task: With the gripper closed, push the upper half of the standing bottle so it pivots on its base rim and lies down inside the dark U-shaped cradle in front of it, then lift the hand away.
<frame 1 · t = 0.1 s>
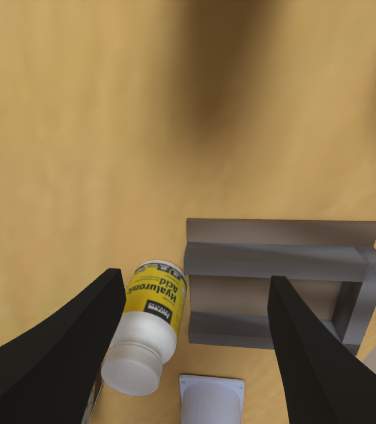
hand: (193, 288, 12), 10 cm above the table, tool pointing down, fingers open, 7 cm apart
bottle rest: (269, 284, 25), on the table
food container: (80, 356, 34), on the table
supplement bottle: (161, 277, 26), on the table
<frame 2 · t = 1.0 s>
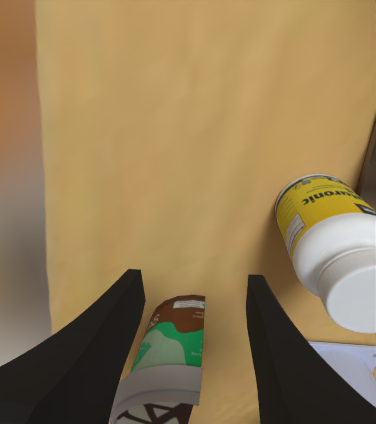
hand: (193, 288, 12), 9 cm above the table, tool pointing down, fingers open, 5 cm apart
food container: (169, 320, 28), on the table
supplement bottle: (309, 204, 20), on the table
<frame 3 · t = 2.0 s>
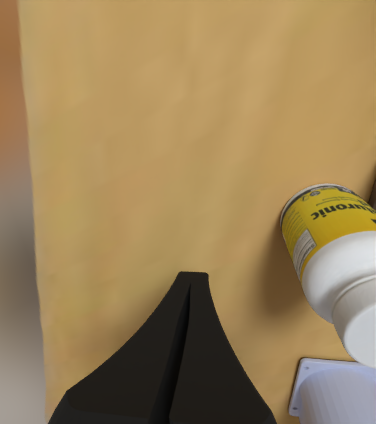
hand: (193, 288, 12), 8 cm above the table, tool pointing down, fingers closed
supplement bottle: (317, 215, 18), on the table
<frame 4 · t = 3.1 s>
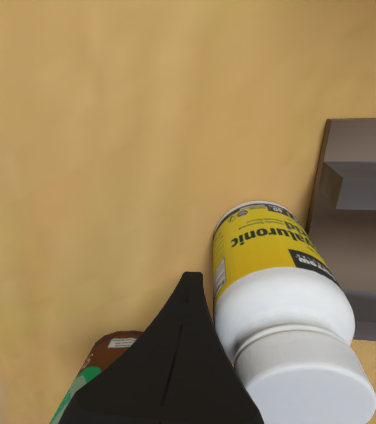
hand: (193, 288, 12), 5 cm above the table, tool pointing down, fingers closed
food container: (112, 356, 25), on the table
supplement bottle: (254, 234, 17), on the table, touching gripper
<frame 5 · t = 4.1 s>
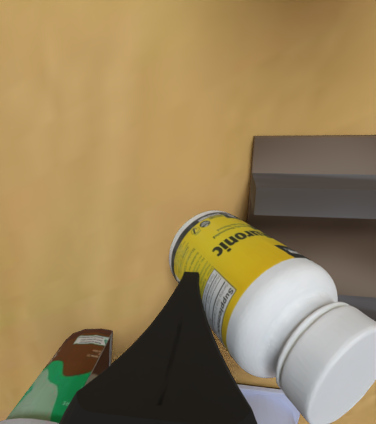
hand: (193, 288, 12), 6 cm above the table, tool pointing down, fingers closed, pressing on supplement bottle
bottle rest: (364, 247, 17), on the table
food container: (82, 354, 26), on the table
supplement bottle: (203, 246, 17), point 1 cm above the table, touching bottle rest, gripper
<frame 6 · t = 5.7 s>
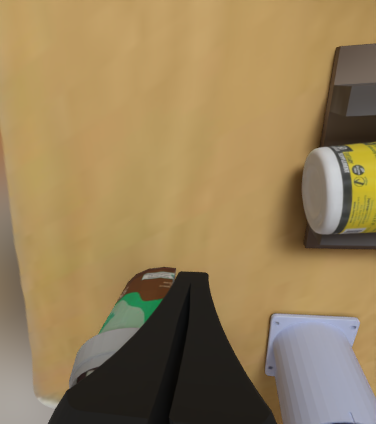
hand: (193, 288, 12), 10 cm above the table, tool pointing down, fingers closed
food container: (142, 296, 27), on the table
supplement bottle: (308, 192, 16), point 3 cm above the table, touching bottle rest
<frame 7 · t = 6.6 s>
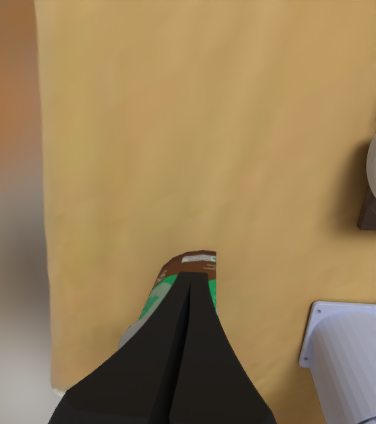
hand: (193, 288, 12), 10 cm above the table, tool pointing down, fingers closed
food container: (176, 282, 26), on the table
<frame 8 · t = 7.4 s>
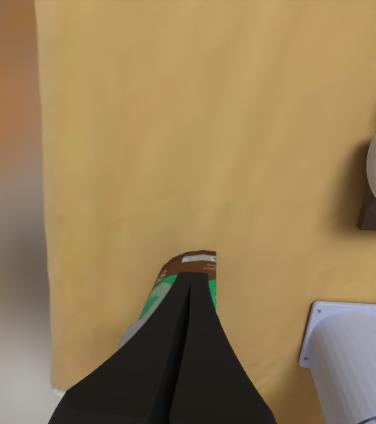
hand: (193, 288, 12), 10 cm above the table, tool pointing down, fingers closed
food container: (176, 282, 26), on the table
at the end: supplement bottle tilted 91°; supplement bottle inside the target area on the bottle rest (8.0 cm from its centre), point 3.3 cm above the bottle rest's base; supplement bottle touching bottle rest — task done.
